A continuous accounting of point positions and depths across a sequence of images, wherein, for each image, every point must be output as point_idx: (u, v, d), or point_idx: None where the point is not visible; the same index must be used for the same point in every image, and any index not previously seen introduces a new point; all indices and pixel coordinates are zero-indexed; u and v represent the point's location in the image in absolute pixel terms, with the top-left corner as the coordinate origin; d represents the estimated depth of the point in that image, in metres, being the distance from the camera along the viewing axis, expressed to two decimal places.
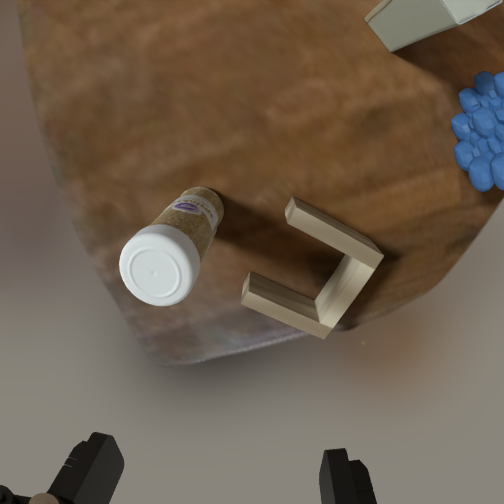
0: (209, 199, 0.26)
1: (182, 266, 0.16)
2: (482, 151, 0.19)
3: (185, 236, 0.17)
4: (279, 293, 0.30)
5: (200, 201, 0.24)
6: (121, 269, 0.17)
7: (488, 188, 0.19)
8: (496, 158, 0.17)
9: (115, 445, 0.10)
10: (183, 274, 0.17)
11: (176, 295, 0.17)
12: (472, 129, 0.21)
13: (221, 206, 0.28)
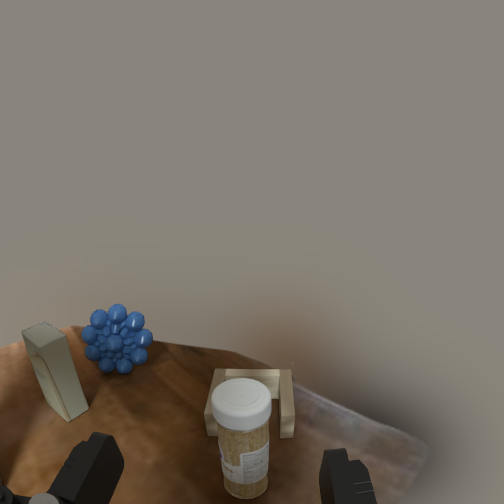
0: None
1: (226, 383, 0.23)
2: (130, 340, 0.42)
3: None
4: None
5: None
6: (250, 411, 0.20)
7: (148, 330, 0.43)
8: (129, 326, 0.41)
9: (115, 445, 0.10)
10: (232, 381, 0.23)
11: (251, 381, 0.23)
12: (122, 354, 0.42)
13: None
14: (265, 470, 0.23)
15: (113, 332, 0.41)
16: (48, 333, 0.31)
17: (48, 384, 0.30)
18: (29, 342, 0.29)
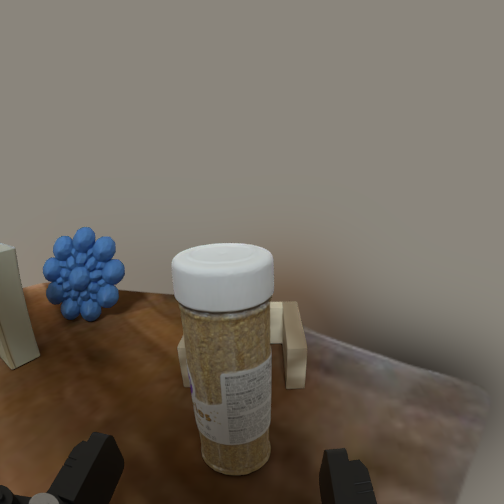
0: None
1: (200, 246, 0.15)
2: (98, 273, 0.34)
3: None
4: (284, 351, 0.27)
5: None
6: (235, 266, 0.12)
7: (120, 261, 0.35)
8: (96, 252, 0.33)
9: (115, 445, 0.10)
10: (210, 245, 0.15)
11: (239, 244, 0.15)
12: (87, 292, 0.34)
13: None
14: (266, 420, 0.15)
15: (78, 262, 0.33)
16: None
17: None
18: None
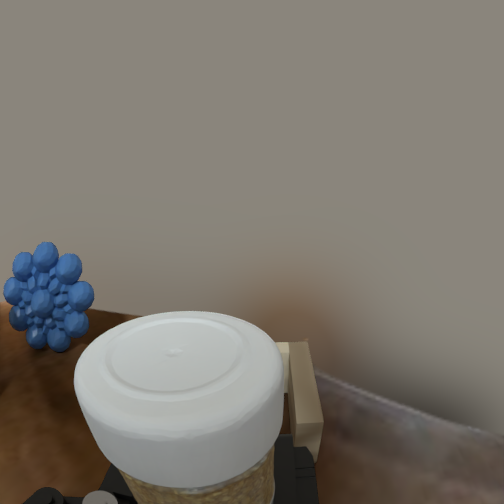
0: None
1: (141, 320, 0.07)
2: (62, 298, 0.26)
3: None
4: (291, 413, 0.19)
5: None
6: (191, 419, 0.04)
7: (87, 283, 0.27)
8: (58, 273, 0.25)
9: None
10: (159, 317, 0.08)
11: (216, 317, 0.08)
12: (53, 320, 0.26)
13: None
14: None
15: (39, 284, 0.25)
16: None
17: None
18: None
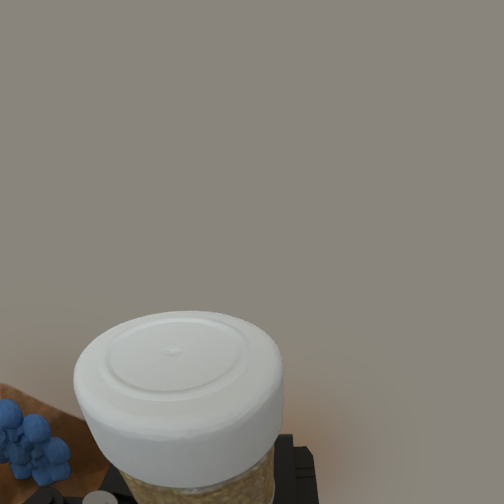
0: None
1: (141, 320, 0.07)
2: (37, 452, 0.18)
3: None
4: None
5: None
6: (191, 418, 0.04)
7: (60, 441, 0.19)
8: (27, 437, 0.17)
9: None
10: (159, 317, 0.08)
11: (216, 316, 0.08)
12: (33, 464, 0.18)
13: None
14: None
15: (10, 439, 0.17)
16: None
17: None
18: None
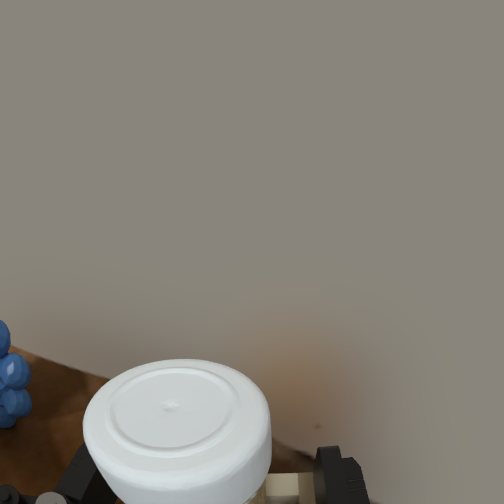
0: None
1: (141, 370, 0.08)
2: None
3: None
4: None
5: None
6: (187, 474, 0.04)
7: (20, 357, 0.16)
8: None
9: None
10: (157, 367, 0.08)
11: (210, 367, 0.08)
12: None
13: None
14: None
15: None
16: None
17: None
18: None
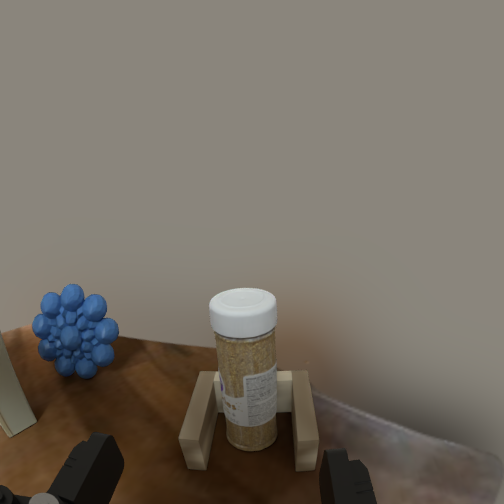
0: None
1: (226, 291, 0.22)
2: (90, 333, 0.30)
3: None
4: (294, 430, 0.22)
5: None
6: (252, 310, 0.19)
7: (112, 320, 0.31)
8: (86, 313, 0.29)
9: (115, 445, 0.10)
10: (233, 290, 0.22)
11: (253, 289, 0.22)
12: (81, 352, 0.30)
13: None
14: (273, 408, 0.22)
15: (67, 322, 0.29)
16: None
17: None
18: None
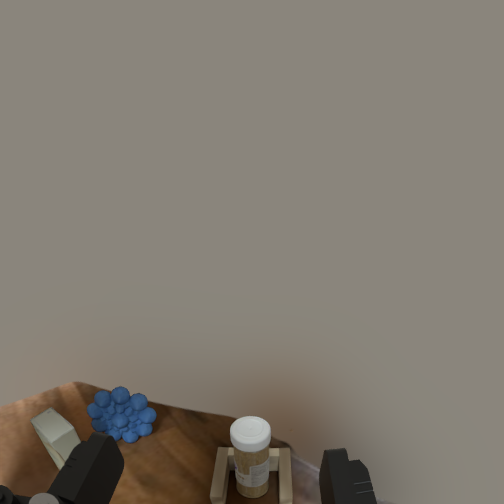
0: None
1: (240, 420, 0.32)
2: (135, 418, 0.40)
3: None
4: None
5: None
6: (256, 440, 0.29)
7: (152, 408, 0.41)
8: (133, 407, 0.38)
9: (115, 445, 0.10)
10: (244, 418, 0.32)
11: (256, 418, 0.32)
12: (127, 428, 0.40)
13: None
14: (266, 477, 0.32)
15: (118, 411, 0.38)
16: (57, 425, 0.29)
17: None
18: (39, 433, 0.27)
